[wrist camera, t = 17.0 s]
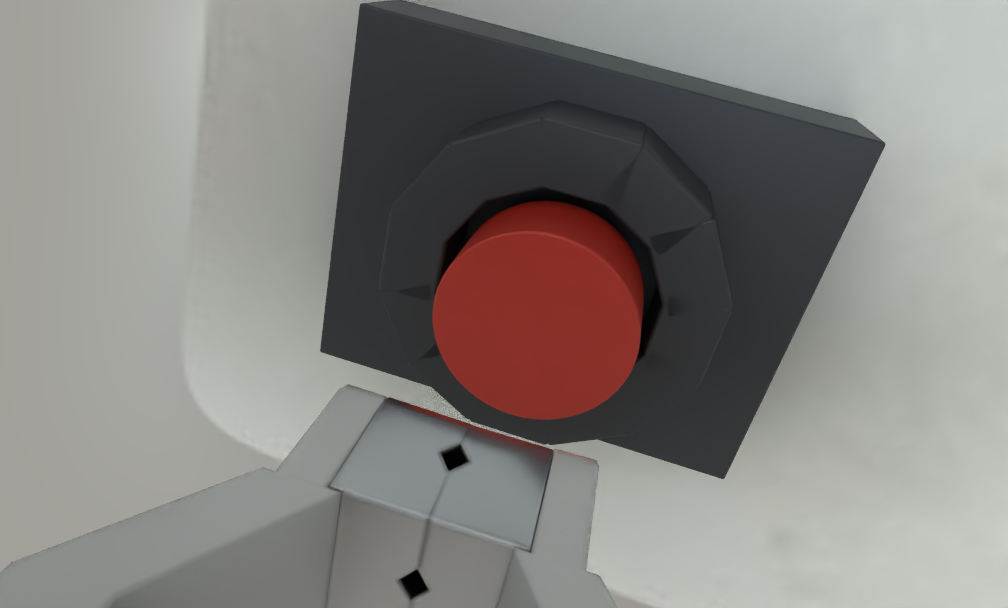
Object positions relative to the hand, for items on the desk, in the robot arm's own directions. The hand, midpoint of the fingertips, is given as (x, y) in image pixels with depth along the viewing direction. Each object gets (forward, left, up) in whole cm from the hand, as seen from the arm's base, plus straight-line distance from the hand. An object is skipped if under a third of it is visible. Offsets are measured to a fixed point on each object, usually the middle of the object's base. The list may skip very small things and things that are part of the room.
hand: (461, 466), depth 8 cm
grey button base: (0, 0, -9) cm, 9 cm away
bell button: (0, 0, -6) cm, 6 cm away
